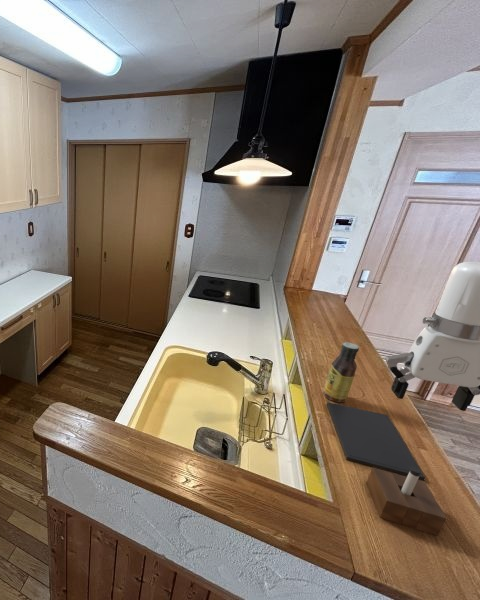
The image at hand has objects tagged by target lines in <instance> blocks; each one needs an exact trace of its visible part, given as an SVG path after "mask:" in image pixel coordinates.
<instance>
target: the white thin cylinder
mask: <svg viewBox="0 0 480 600" xmlns="http://www.w3.org/2000/svg"><path fill="white" fill-rule="evenodd" d="M420 470H421V469H420ZM420 470H419V469H418V468H415V467H411V469H410V471H409V474H408V476H406V477H407V478H406V480H405V483H404V485H403V487H402V489H401V493H402V494H406V495H409V496H410V495H411V493H412V491H413V489H414V487H415V485H416V483H417V480H419V479H418V478H419V476H420V474H421V471H422V470H421V471H420Z"/></svg>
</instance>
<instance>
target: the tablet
mask: <svg viewBox="0 0 480 600" xmlns="http://www.w3.org/2000/svg"><path fill="white" fill-rule="evenodd" d="M325 405H326V408H327V410H328V413H329V416H330V418H331V422H332V424H333V427H334V429H335V432H336V435H337V438H338V440H339V443H340V446H341V449H342V451H343V455H344V457H345V460H346V461H350V462H353V463H356V464H361V465H364V466H367V467H372V468H376V469H380V470H384V471H387V472H391V473H395V474H399V475H402V476H406V477H407V476H408V474H409V471H410V469H411V467H415V468H418V469H419V470H420V471H421V474H420V476H419V478H418V480H420V481H424V482H425V479H426V476H425V474H424V473H423V471H422V470H421V468H420V466H419V464H418V463H417V461H416V460H415V457H413V455H412V453H411V451H410V450H409V448H408V446H407V445H406V444H405V442H404V440H403V438H402V436H401V435H400V433H399V431H398V430H397V429H396V427H395V425H394V422H392V420H391V418H390V416H389V415H388V414H384V413H380V412H376V411H370V410H365V409H361V408H356V407H352V406H347V405H343V404H338V403H333V402H330V401H327V402H326V404H325Z"/></svg>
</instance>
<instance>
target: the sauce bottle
mask: <svg viewBox="0 0 480 600" xmlns="http://www.w3.org/2000/svg"><path fill="white" fill-rule="evenodd" d="M359 349H360V346H359V345H358V344H355V343H353V342H347V341H346V342H343V343H342V344H341V350H340V353H339V355H337V357H335V359H334V360H333V361H332V362H331V364H330V368H329V371H328V374H327V377H326V381H325V384H324V386H323V396H324V397H325V398H326V399H327V400H329V401H332V402H336V403H344V402H345V401H346V400H347V398H348V396H349V393H350V391H351V387H352V385H353V382H354V379H355V375H356V371H357V368H358V367H357V366H358V365H357V362H356V356H357V353H358V352H359V351H360V350H359Z"/></svg>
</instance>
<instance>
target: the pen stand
mask: <svg viewBox="0 0 480 600" xmlns="http://www.w3.org/2000/svg"><path fill="white" fill-rule="evenodd" d="M406 478H407V476H405V475H401V474H397V473H393V472H390V471H386V470H382V469H379V468H375V467H372V468H371V470H370V472H369V475H368V478H367V480H366V482H365V483H366V487H367V490H368V491H369V494H370V496H371V499H372V501H373V504H374V507H375V508H376V511H377V514H378V517H379V518H381V519H383V520H386V521H390V522H393V523H396V524H400V525H402V526H406V527H407V528H408V527H409V528H412V529H415V530H418V531H420V532H424V533H427V534H431V535H434V536H437V537H438V536H439V534H440V533H441V531H442V529H443V528H444V526H445V523H446V522H447V520H448V518H447V516H446V514H445V513H444V511H443V510H442V507H441V506H440V504H439V503H438V501H437V500H436V498H435V496H434V494H433V492H432V491H431V490H430V488H429V486H428V484H427V483H426V481H425V480H424V481H423V480H419V479H418V480H417V483H416V485H415V487H414V489H413V491H412V493H411V495H410V496H409V495H406V494H402V493H401V489H402V487H403V485H404V483H405V480H406Z"/></svg>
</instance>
